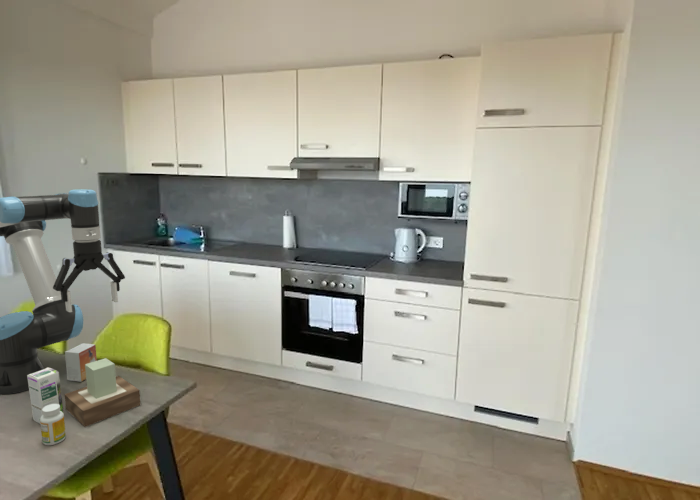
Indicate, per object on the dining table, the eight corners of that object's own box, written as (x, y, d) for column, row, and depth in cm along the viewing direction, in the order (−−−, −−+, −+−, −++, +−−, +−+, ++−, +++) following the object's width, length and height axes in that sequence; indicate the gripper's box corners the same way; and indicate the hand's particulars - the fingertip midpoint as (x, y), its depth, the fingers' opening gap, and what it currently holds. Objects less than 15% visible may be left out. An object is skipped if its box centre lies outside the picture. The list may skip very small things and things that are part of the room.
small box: (81, 382, 155) (78, 353, 153) (67, 380, 156) (64, 351, 154) (98, 372, 162) (96, 344, 160) (84, 370, 164) (82, 342, 162)
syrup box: (43, 426, 129) (38, 379, 127) (32, 420, 132) (26, 373, 129) (64, 417, 134) (59, 371, 132) (53, 411, 137) (47, 366, 134)
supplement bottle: (40, 447, 120) (36, 414, 118) (45, 436, 125) (41, 404, 123) (64, 443, 122) (60, 410, 120) (67, 432, 127) (64, 400, 125)
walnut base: (65, 409, 138) (64, 393, 137) (119, 389, 150) (118, 375, 149) (84, 427, 130) (83, 410, 129) (140, 404, 142) (139, 389, 141)
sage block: (87, 392, 139) (84, 364, 137) (108, 384, 143) (105, 358, 141) (96, 398, 135) (93, 370, 133) (116, 391, 139) (114, 363, 138)
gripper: (44, 247, 129) (52, 318, 133) (133, 237, 148) (137, 300, 152) (35, 243, 134) (43, 312, 138) (122, 234, 152) (126, 295, 157)
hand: (92, 306), depth 145 cm, fingers open, 13 cm apart
